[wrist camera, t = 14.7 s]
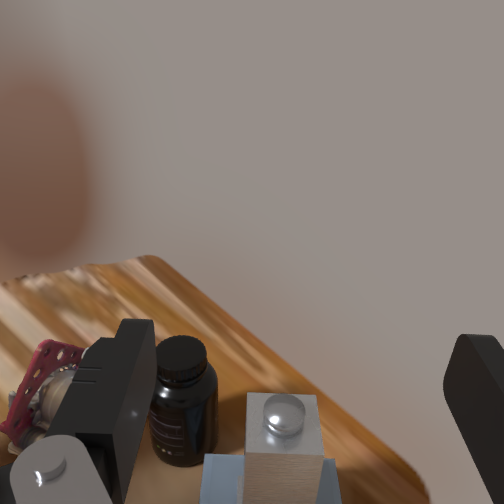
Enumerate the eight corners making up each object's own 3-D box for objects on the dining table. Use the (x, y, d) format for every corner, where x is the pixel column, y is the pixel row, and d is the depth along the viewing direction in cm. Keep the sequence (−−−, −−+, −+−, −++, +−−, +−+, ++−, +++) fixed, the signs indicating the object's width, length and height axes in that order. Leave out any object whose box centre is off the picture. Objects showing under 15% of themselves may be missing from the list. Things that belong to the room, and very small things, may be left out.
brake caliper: (51, 352, 54) (88, 304, 47) (116, 419, 54) (163, 381, 47) (-39, 423, 45) (-9, 376, 38) (40, 502, 45) (85, 471, 38)
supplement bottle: (177, 404, 51) (172, 318, 45) (230, 429, 48) (232, 341, 43) (136, 451, 46) (125, 360, 40) (193, 482, 43) (191, 390, 37)
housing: (312, 556, 34) (334, 448, 28) (234, 553, 34) (239, 444, 28) (305, 484, 39) (322, 379, 33) (237, 481, 39) (242, 375, 33)
